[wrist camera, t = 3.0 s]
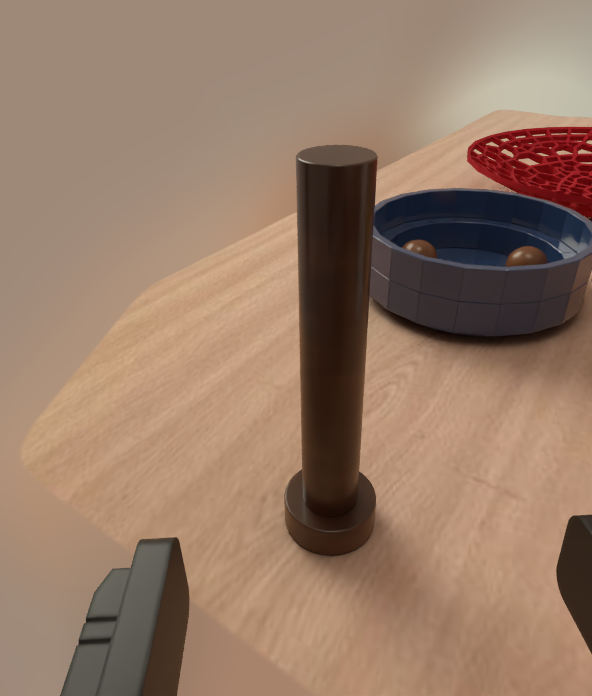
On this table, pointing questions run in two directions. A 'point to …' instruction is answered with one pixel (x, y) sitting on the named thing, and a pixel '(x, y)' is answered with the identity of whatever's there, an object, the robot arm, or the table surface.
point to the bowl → (540, 165)
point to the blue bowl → (479, 261)
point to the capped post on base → (333, 347)
